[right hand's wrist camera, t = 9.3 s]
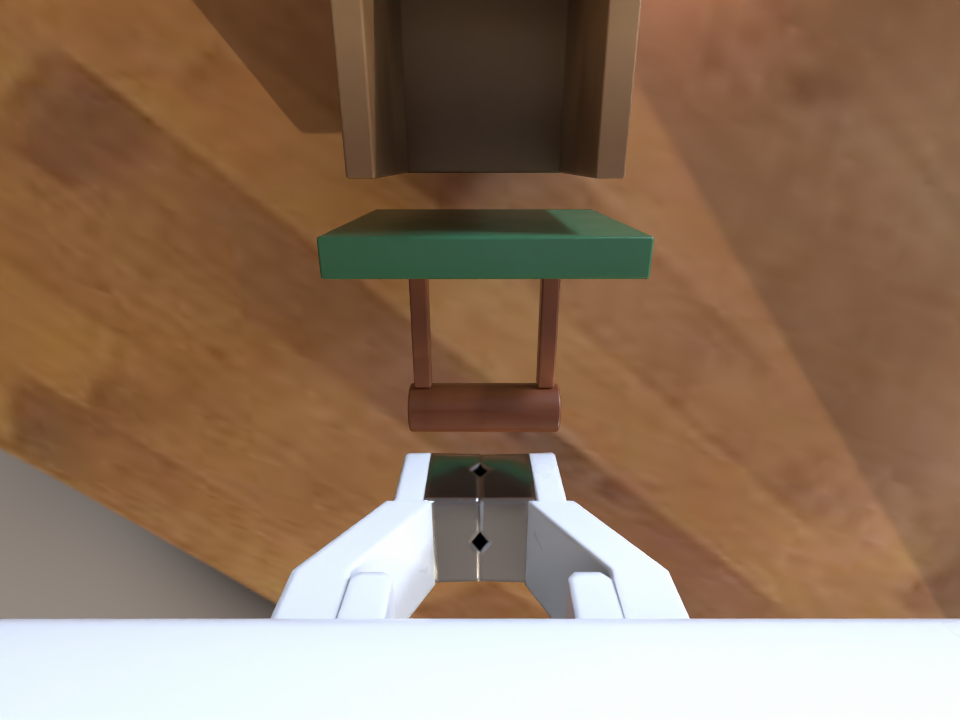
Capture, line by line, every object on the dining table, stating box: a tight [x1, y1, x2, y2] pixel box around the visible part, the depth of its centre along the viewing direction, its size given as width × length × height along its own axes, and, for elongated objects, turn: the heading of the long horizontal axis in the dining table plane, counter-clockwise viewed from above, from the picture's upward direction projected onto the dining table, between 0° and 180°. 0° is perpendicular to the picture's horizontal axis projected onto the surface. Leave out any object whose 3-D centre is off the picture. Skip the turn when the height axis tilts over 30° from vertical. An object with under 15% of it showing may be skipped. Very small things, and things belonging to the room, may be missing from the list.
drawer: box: [317, 0, 654, 432], centre depth 16 cm, size 24×9×8 cm, turn 0°
